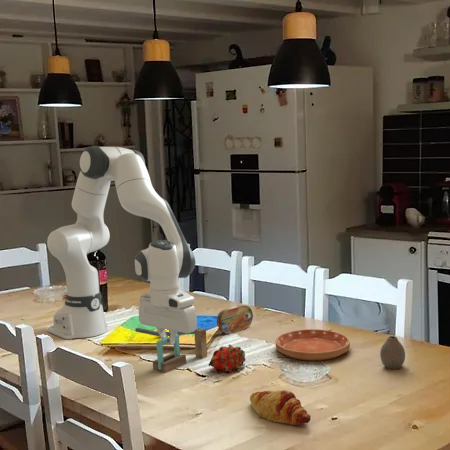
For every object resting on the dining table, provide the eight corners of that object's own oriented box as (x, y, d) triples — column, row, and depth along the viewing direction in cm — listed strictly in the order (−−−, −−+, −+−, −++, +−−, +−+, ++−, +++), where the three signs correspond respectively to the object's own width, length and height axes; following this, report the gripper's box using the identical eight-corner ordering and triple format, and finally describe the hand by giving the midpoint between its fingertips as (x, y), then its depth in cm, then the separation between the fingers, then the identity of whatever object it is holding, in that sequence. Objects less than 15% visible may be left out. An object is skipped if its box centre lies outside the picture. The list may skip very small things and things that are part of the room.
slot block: (153, 372, 201) (152, 361, 201) (174, 363, 208) (173, 352, 208) (165, 376, 198) (165, 364, 198) (186, 366, 205) (185, 355, 205)
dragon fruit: (250, 373, 201) (213, 387, 197) (236, 351, 207) (200, 364, 202) (254, 356, 196) (216, 370, 191) (240, 334, 201) (203, 347, 196)
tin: (221, 336, 233) (220, 312, 232) (215, 334, 236) (214, 310, 235) (254, 326, 243) (253, 303, 242) (247, 325, 246) (246, 301, 244)
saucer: (364, 348, 215) (364, 336, 215) (321, 369, 199) (321, 356, 198) (305, 335, 231) (304, 325, 230) (260, 354, 214) (260, 342, 214)
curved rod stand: (137, 358, 215) (135, 328, 214) (162, 347, 224) (161, 319, 223) (188, 370, 202) (186, 338, 201) (213, 358, 211) (211, 328, 210)
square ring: (158, 369, 200) (156, 341, 199) (177, 361, 207) (175, 333, 206) (161, 370, 200) (159, 342, 198) (180, 361, 206) (178, 334, 205)
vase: (406, 363, 200) (406, 334, 198) (404, 371, 193) (404, 341, 192) (381, 361, 202) (381, 332, 201) (379, 370, 195) (378, 340, 194)
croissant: (243, 419, 175) (230, 396, 172) (268, 391, 180) (256, 369, 177) (302, 445, 159) (289, 420, 156) (328, 414, 164) (316, 389, 160)
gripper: (132, 295, 204) (135, 340, 206) (184, 303, 192) (186, 351, 194) (147, 290, 209) (150, 334, 211) (199, 298, 197) (201, 345, 199)
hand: (168, 342), depth 202 cm, fingers closed on square ring, 1 cm apart
